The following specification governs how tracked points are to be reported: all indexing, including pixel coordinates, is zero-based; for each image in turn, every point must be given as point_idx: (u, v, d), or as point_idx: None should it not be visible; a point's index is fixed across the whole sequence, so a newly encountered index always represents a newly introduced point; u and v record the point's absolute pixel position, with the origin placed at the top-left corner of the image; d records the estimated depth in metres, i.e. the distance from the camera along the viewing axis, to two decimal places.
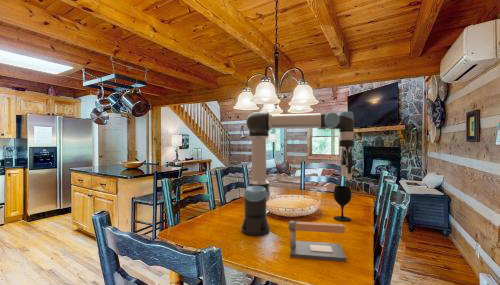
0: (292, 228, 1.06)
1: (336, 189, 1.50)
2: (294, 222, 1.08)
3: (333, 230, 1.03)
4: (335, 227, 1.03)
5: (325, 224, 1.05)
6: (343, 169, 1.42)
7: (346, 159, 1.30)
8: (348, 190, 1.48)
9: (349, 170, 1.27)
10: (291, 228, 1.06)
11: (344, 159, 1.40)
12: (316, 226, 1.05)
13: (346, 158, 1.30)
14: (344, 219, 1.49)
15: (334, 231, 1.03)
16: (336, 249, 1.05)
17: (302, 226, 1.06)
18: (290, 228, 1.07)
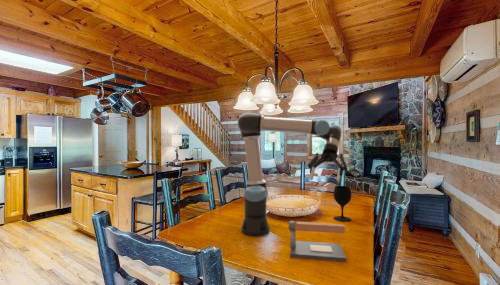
0: (292, 228, 1.06)
1: (336, 189, 1.50)
2: (294, 222, 1.08)
3: (333, 230, 1.03)
4: (335, 227, 1.03)
5: (325, 224, 1.05)
6: (313, 171, 1.26)
7: (338, 162, 1.24)
8: (348, 190, 1.48)
9: (342, 172, 1.19)
10: (291, 228, 1.06)
11: (318, 163, 1.29)
12: (316, 226, 1.05)
13: (337, 161, 1.24)
14: (344, 219, 1.49)
15: (334, 231, 1.03)
16: (336, 249, 1.05)
17: (302, 226, 1.06)
18: (290, 228, 1.07)
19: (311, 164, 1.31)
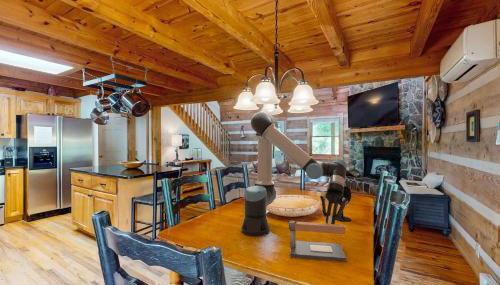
0: (292, 228, 1.06)
1: None
2: (294, 222, 1.08)
3: (333, 231, 1.02)
4: (335, 228, 1.02)
5: (325, 225, 1.04)
6: None
7: (336, 207, 1.12)
8: (348, 190, 1.48)
9: (334, 220, 1.09)
10: (291, 228, 1.06)
11: (330, 208, 1.14)
12: (316, 226, 1.04)
13: (336, 206, 1.13)
14: (344, 219, 1.49)
15: (334, 232, 1.02)
16: (336, 249, 1.05)
17: (302, 226, 1.05)
18: (290, 228, 1.07)
19: None
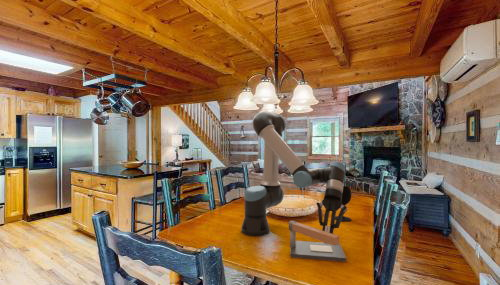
0: (289, 227, 1.07)
1: None
2: (294, 222, 1.07)
3: (323, 239, 0.94)
4: (325, 236, 0.93)
5: (319, 231, 0.97)
6: None
7: (334, 216, 1.02)
8: (348, 190, 1.48)
9: (332, 231, 0.99)
10: (289, 227, 1.07)
11: (327, 216, 1.04)
12: (309, 231, 0.99)
13: (334, 215, 1.03)
14: (344, 219, 1.49)
15: (324, 240, 0.93)
16: (336, 249, 1.05)
17: (298, 227, 1.04)
18: (289, 227, 1.08)
19: None
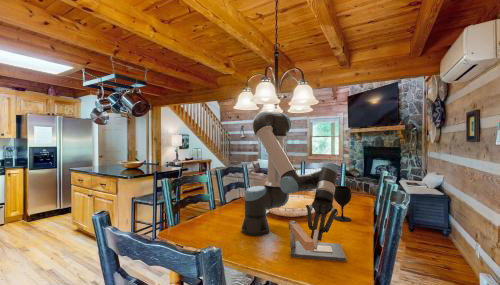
0: None
1: (336, 189, 1.50)
2: (293, 222, 1.07)
3: (301, 242, 0.91)
4: (302, 239, 0.90)
5: (302, 234, 0.94)
6: None
7: (323, 219, 0.95)
8: (348, 190, 1.48)
9: (321, 235, 0.92)
10: None
11: (317, 219, 0.97)
12: (296, 232, 0.98)
13: (324, 218, 0.95)
14: (344, 219, 1.49)
15: (301, 244, 0.90)
16: (336, 249, 1.05)
17: (292, 227, 1.03)
18: None
19: None
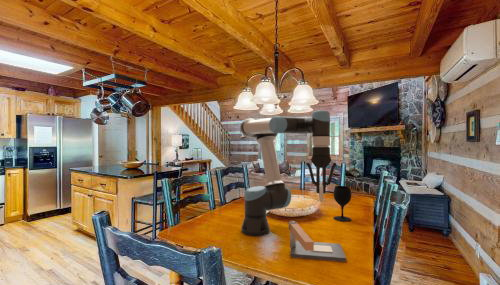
0: None
1: (336, 189, 1.50)
2: (293, 222, 1.07)
3: (301, 242, 0.91)
4: (302, 239, 0.90)
5: (302, 234, 0.94)
6: None
7: (325, 175, 1.04)
8: (348, 190, 1.48)
9: (325, 189, 1.05)
10: None
11: None
12: (296, 232, 0.98)
13: (325, 174, 1.04)
14: (344, 219, 1.49)
15: (301, 244, 0.90)
16: (336, 249, 1.05)
17: (292, 227, 1.03)
18: None
19: None
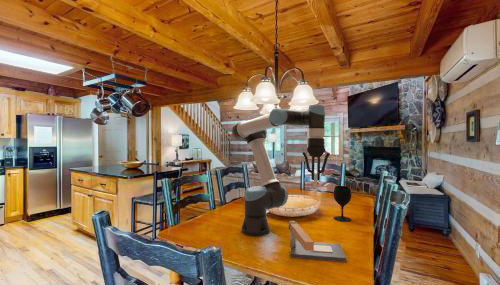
0: None
1: (336, 189, 1.50)
2: (293, 222, 1.07)
3: (301, 242, 0.91)
4: (302, 239, 0.90)
5: (302, 234, 0.94)
6: None
7: (319, 164, 1.15)
8: (348, 190, 1.48)
9: (319, 176, 1.16)
10: None
11: None
12: (296, 232, 0.98)
13: None
14: (344, 219, 1.49)
15: (301, 244, 0.90)
16: (336, 249, 1.05)
17: (292, 227, 1.03)
18: None
19: None
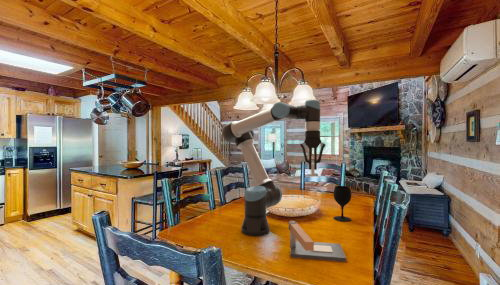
0: None
1: (336, 189, 1.50)
2: (293, 222, 1.07)
3: (301, 242, 0.91)
4: (302, 239, 0.90)
5: (302, 234, 0.94)
6: None
7: (316, 154, 1.24)
8: (348, 190, 1.48)
9: (316, 166, 1.25)
10: None
11: None
12: (296, 232, 0.98)
13: (316, 153, 1.24)
14: (344, 219, 1.49)
15: (301, 244, 0.90)
16: (336, 249, 1.05)
17: (292, 227, 1.03)
18: None
19: None
